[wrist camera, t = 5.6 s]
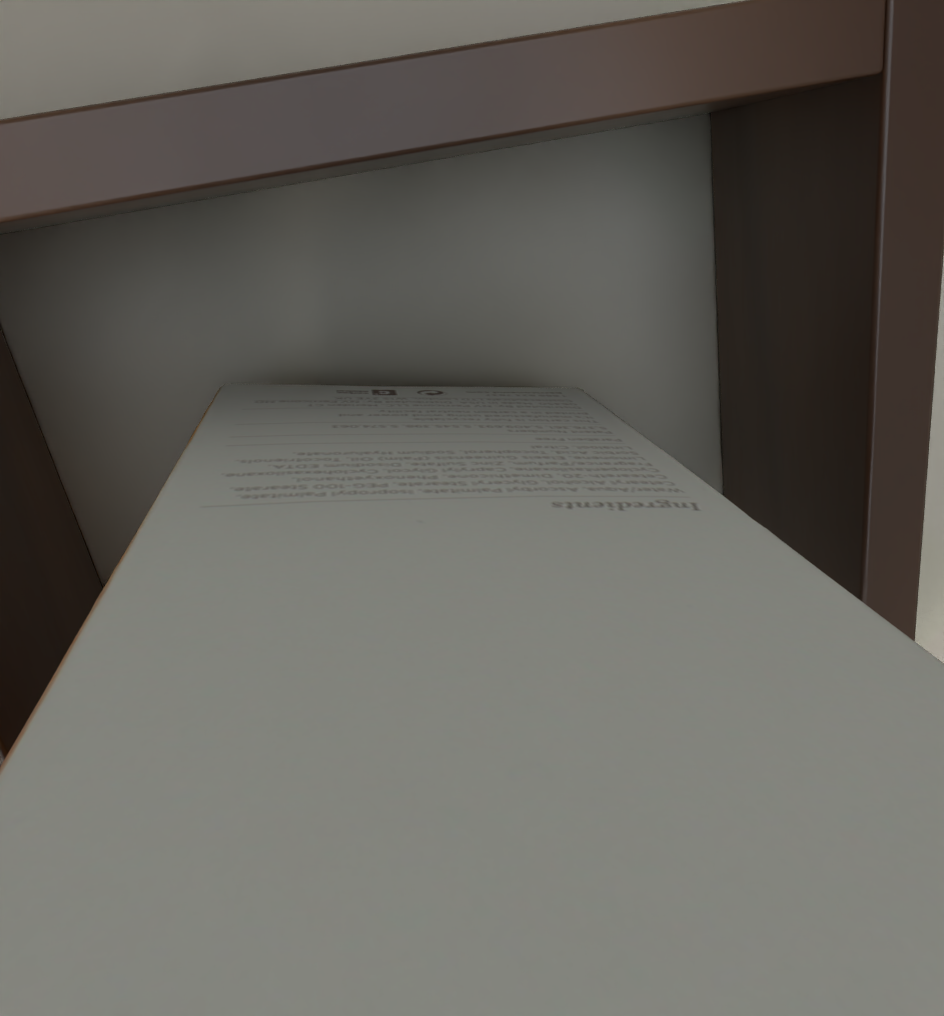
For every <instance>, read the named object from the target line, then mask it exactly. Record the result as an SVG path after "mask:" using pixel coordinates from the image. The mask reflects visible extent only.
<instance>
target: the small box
mask: <svg viewBox="0 0 944 1016" xmlns="http://www.w3.org/2000/svg"><path fill="white" fill-rule="evenodd" d="M0 1016H944V663H942V662H941V661H940V660H938V659H937V658H936V657H934V656H933V655H932V654H930V653H929V652H928V651H926V650H925V649H924V648H922V647H921V646H920V645H918V644H917V643H916V642H914V641H913V640H912V639H910V638H909V637H908V636H907V635H905V634H904V633H903V632H901V631H900V630H899V629H897V628H896V627H895V626H893V625H892V624H891V623H889V622H888V621H887V620H885V619H884V618H883V617H881V616H880V615H879V614H877V613H876V612H875V611H873V610H872V609H871V608H870V607H868V606H867V605H866V604H864V603H863V602H862V601H860V600H859V599H858V598H856V597H855V596H854V595H852V594H851V593H850V592H848V591H847V590H846V589H844V588H843V587H842V586H840V585H839V584H838V583H836V582H835V581H834V580H833V579H831V578H830V577H829V576H827V575H826V574H825V573H823V572H822V571H821V570H819V569H818V568H817V567H815V566H814V565H813V564H812V563H810V562H809V561H808V560H806V559H805V558H804V557H802V556H801V555H800V554H798V553H797V552H796V551H795V550H793V549H792V548H791V547H789V546H788V545H787V544H785V543H784V542H783V541H781V540H780V539H779V538H778V537H776V536H775V535H774V534H773V533H771V532H770V531H769V530H768V529H766V528H765V527H763V526H762V525H760V524H759V523H758V522H756V521H755V520H753V519H752V518H751V517H749V516H748V515H747V514H746V513H744V512H743V511H742V510H741V509H739V508H738V507H737V506H736V505H734V504H733V503H732V502H731V501H729V500H728V499H727V498H725V497H724V496H723V495H721V494H720V493H719V492H717V491H716V490H715V489H714V488H712V487H711V486H710V485H708V484H707V483H706V482H704V481H703V480H702V479H700V478H699V477H698V476H696V475H695V474H694V473H693V472H691V471H690V470H689V469H687V468H686V467H685V466H683V465H682V464H681V463H679V462H678V461H677V460H675V459H674V458H673V457H671V456H670V455H669V454H667V453H666V452H665V451H663V450H662V449H660V448H659V447H658V446H656V445H655V444H654V443H652V442H651V441H649V440H648V439H647V438H646V437H644V436H643V435H642V434H641V433H639V432H638V431H637V430H635V429H634V428H632V427H631V426H630V425H628V424H627V423H625V422H624V421H623V420H621V419H620V418H619V417H617V416H616V415H615V414H614V413H612V412H611V411H610V410H608V409H607V408H606V407H604V406H603V405H602V404H600V403H599V402H598V401H596V400H595V399H594V398H592V397H591V396H590V395H588V394H587V393H585V392H584V391H583V390H582V389H579V388H540V387H400V386H338V385H292V384H233V383H231V384H224V385H223V386H221V387H220V388H219V390H218V391H217V393H216V395H215V396H214V398H213V400H212V402H211V403H210V405H209V406H208V408H207V410H206V411H205V413H204V415H203V417H202V419H201V421H200V422H199V424H198V426H197V427H196V429H195V431H194V432H193V434H192V436H191V438H190V440H189V442H188V444H187V446H186V447H185V449H184V451H183V453H182V454H181V456H180V458H179V460H178V461H177V463H176V465H175V466H174V468H173V470H172V472H171V473H170V475H169V477H168V479H167V480H166V482H165V484H164V486H163V487H162V489H161V491H160V492H159V494H158V496H157V498H156V499H155V501H154V503H153V505H152V506H151V508H150V510H149V512H148V513H147V515H146V517H145V519H144V520H143V522H142V524H141V525H140V527H139V529H138V530H137V532H136V534H135V536H134V537H133V539H132V541H131V542H130V544H129V546H128V547H127V549H126V551H125V553H124V554H123V556H122V557H121V559H120V561H119V562H118V564H117V566H116V567H115V569H114V571H113V573H112V574H111V576H110V578H109V580H108V582H107V584H106V585H105V587H104V588H103V590H102V592H101V593H100V595H99V596H98V598H97V600H96V601H95V603H94V605H93V607H92V609H91V611H90V613H89V615H88V616H87V618H86V620H85V621H84V623H83V625H82V627H81V628H80V630H79V632H78V633H77V635H76V637H75V639H74V640H73V642H72V644H71V645H70V647H69V649H68V651H67V652H66V654H65V656H64V658H63V659H62V661H61V663H60V665H59V667H58V668H57V670H56V672H55V674H54V675H53V677H52V679H51V681H50V682H49V684H48V686H47V688H46V689H45V691H44V693H43V695H42V696H41V698H40V700H39V701H38V703H37V705H36V706H35V708H34V710H33V712H32V713H31V715H30V717H29V718H28V720H27V722H26V724H25V725H24V727H23V729H22V730H21V732H20V734H19V736H18V737H17V739H16V741H15V742H14V744H13V746H12V748H11V749H10V751H9V753H8V754H7V756H6V758H5V760H4V761H3V763H2V765H1V767H0Z"/></svg>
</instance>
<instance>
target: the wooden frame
mask: <svg viewBox="0 0 944 1016" xmlns="http://www.w3.org/2000/svg"><path fill="white" fill-rule="evenodd" d="M707 113H711V134H712V163H713V192H714V221H715V250H716V279H717V308H718V337H719V366H720V394H721V423H722V452H723V481H724V497H725V498H727V499H728V500H729V501H731V502H732V503H733V504H734V505H736V506H737V507H738V508H739V509H741V510H742V511H743V512H744V513H746V514H747V515H748V516H749V517H751V518H752V519H753V520H755V521H756V522H758V523H759V524H760V525H762V526H763V527H765V528H766V529H768V530H769V531H770V532H771V533H773V534H774V535H775V536H776V537H778V538H779V539H780V540H781V541H783V542H784V543H785V544H787V545H788V546H789V547H791V548H792V549H793V550H795V551H796V552H797V553H798V554H800V555H801V556H802V557H804V558H805V559H806V560H808V561H809V562H810V563H812V564H813V565H814V566H815V567H817V568H818V569H819V570H821V571H822V572H823V573H825V574H826V575H827V576H829V577H830V578H831V579H833V580H834V581H835V582H836V583H838V584H839V585H840V586H842V587H843V588H844V589H846V590H847V591H848V592H850V593H851V594H852V595H854V596H855V597H856V598H858V599H859V600H860V601H862V602H863V603H864V604H866V605H867V606H868V607H870V608H871V609H872V610H873V611H875V612H876V613H877V614H879V615H880V616H881V617H883V618H884V619H885V620H887V621H888V622H889V623H891V624H892V625H893V626H895V627H896V628H897V629H899V630H900V631H901V632H903V633H904V634H905V635H907V636H908V637H909V638H910V639H912V640H913V641H915V628H916V614H917V601H918V588H919V574H920V561H921V548H922V534H923V521H924V508H925V494H926V481H927V468H928V454H929V441H930V428H931V414H932V401H933V388H934V374H935V361H936V347H937V334H938V321H939V307H940V294H941V281H942V267H943V254H944V0H746V1H739V2H733V3H727V4H721V5H714V6H708V7H702V8H696V9H689V10H683V11H677V12H670V13H664V14H658V15H652V16H645V17H639V18H633V19H627V20H620V21H614V22H608V23H602V24H595V25H589V26H583V27H576V28H570V29H564V30H558V31H551V32H545V33H539V34H533V35H526V36H520V37H514V38H508V39H501V40H495V41H489V42H483V43H476V44H470V45H464V46H457V47H451V48H445V49H439V50H432V51H426V52H420V53H414V54H407V55H401V56H395V57H389V58H382V59H376V60H370V61H363V62H357V63H351V64H345V65H338V66H332V67H326V68H320V69H313V70H307V71H301V72H295V73H288V74H282V75H276V76H269V77H263V78H257V79H251V80H244V81H238V82H232V83H226V84H219V85H213V86H207V87H201V88H194V89H188V90H182V91H176V92H169V93H163V94H157V95H150V96H144V97H138V98H132V99H125V100H119V101H113V102H107V103H100V104H94V105H88V106H82V107H75V108H69V109H63V110H56V111H50V112H44V113H38V114H31V115H25V116H19V117H13V118H6V119H0V234H4V233H10V232H16V231H22V230H28V229H34V228H40V227H45V226H51V225H57V224H63V223H69V222H75V221H81V220H86V219H92V218H98V217H104V216H110V215H116V214H122V213H127V212H133V211H139V210H145V209H151V208H157V207H163V206H168V205H174V204H180V203H186V202H192V201H198V200H204V199H209V198H215V197H221V196H227V195H233V194H239V193H245V192H250V191H256V190H262V189H268V188H274V187H280V186H286V185H291V184H297V183H303V182H309V181H315V180H321V179H327V178H332V177H338V176H344V175H350V174H356V173H362V172H368V171H373V170H379V169H385V168H391V167H397V166H403V165H409V164H414V163H420V162H426V161H432V160H438V159H444V158H450V157H455V156H461V155H467V154H473V153H479V152H485V151H490V150H496V149H502V148H508V147H514V146H520V145H526V144H532V143H537V142H543V141H549V140H555V139H561V138H567V137H572V136H578V135H584V134H590V133H596V132H602V131H608V130H613V129H619V128H625V127H631V126H637V125H643V124H649V123H654V122H660V121H666V120H672V119H678V118H684V117H690V116H695V115H701V114H707ZM102 590H103V589H102V586H101V584H100V581H99V579H98V576H97V574H96V571H95V568H94V566H93V563H92V561H91V558H90V556H89V553H88V551H87V548H86V546H85V543H84V540H83V538H82V535H81V533H80V530H79V528H78V525H77V523H76V520H75V517H74V515H73V512H72V510H71V507H70V505H69V502H68V500H67V497H66V495H65V492H64V489H63V487H62V484H61V482H60V479H59V477H58V474H57V472H56V469H55V467H54V464H53V461H52V459H51V456H50V454H49V451H48V449H47V446H46V444H45V441H44V438H43V436H42V433H41V431H40V428H39V426H38V423H37V421H36V418H35V416H34V413H33V410H32V408H31V405H30V403H29V400H28V398H27V395H26V393H25V390H24V388H23V385H22V382H21V380H20V377H19V375H18V372H17V370H16V367H15V365H14V362H13V360H12V357H11V354H10V352H9V349H8V347H7V344H6V342H5V339H4V337H3V334H2V331H1V329H0V767H1V765H2V763H3V761H4V760H5V758H6V756H7V754H8V753H9V751H10V749H11V748H12V746H13V744H14V742H15V741H16V739H17V737H18V736H19V734H20V732H21V730H22V729H23V727H24V725H25V724H26V722H27V720H28V718H29V717H30V715H31V713H32V712H33V710H34V708H35V706H36V705H37V703H38V701H39V700H40V698H41V696H42V695H43V693H44V691H45V689H46V688H47V686H48V684H49V682H50V681H51V679H52V677H53V675H54V674H55V672H56V670H57V668H58V667H59V665H60V663H61V661H62V659H63V658H64V656H65V654H66V652H67V651H68V649H69V647H70V645H71V644H72V642H73V640H74V639H75V637H76V635H77V633H78V632H79V630H80V628H81V627H82V625H83V623H84V621H85V620H86V618H87V616H88V615H89V613H90V611H91V609H92V607H93V605H94V603H95V601H96V600H97V598H98V596H99V595H100V593H101V592H102Z"/></svg>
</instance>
